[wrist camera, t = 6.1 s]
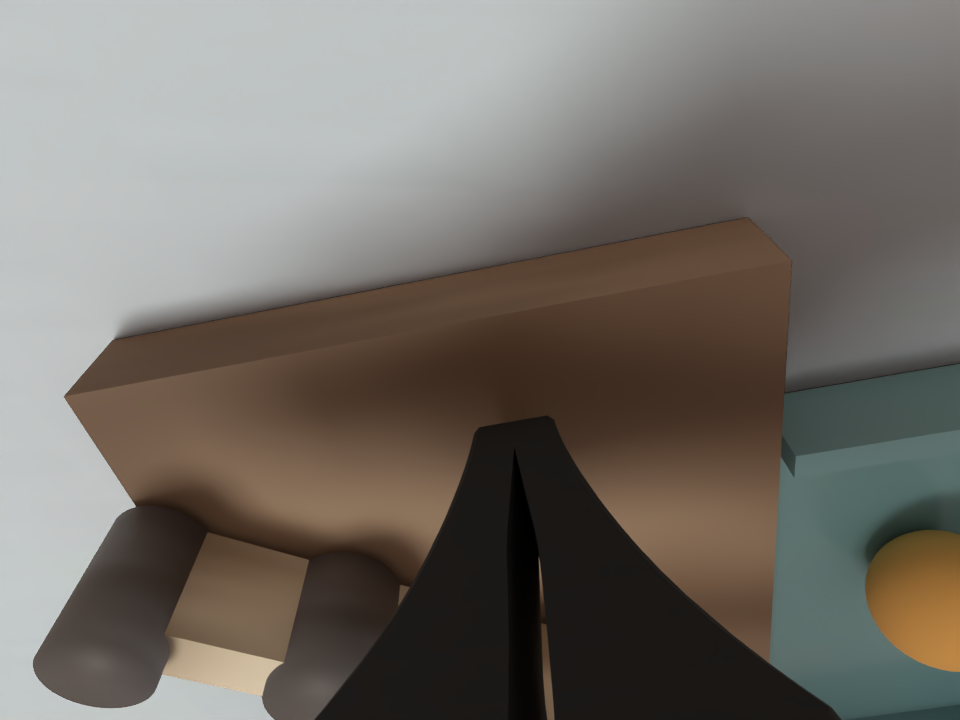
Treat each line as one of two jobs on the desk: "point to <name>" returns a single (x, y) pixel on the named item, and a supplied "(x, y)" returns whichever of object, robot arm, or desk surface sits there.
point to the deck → (480, 408)
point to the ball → (919, 596)
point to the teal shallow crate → (861, 535)
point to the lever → (218, 618)
